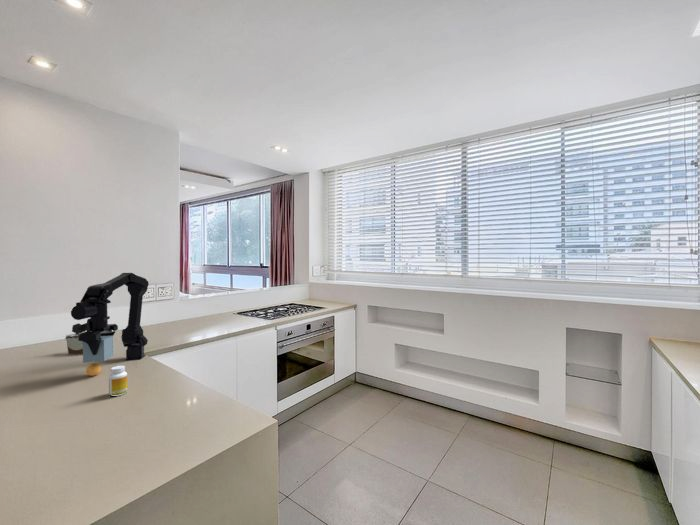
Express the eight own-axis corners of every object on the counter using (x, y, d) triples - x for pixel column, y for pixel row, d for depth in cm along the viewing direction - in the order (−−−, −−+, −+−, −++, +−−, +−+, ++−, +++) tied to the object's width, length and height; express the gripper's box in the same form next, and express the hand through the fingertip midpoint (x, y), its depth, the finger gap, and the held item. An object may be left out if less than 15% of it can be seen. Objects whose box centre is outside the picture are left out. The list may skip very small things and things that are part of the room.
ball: (96, 359, 134) (87, 368, 134) (89, 363, 130) (80, 372, 129) (106, 366, 135) (97, 375, 135) (99, 370, 130) (90, 380, 130)
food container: (98, 351, 168) (97, 332, 168) (87, 354, 162) (86, 335, 162) (77, 350, 169) (76, 332, 169) (65, 354, 163) (65, 335, 163)
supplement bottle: (131, 392, 115) (130, 365, 115) (116, 398, 110) (115, 370, 110) (120, 390, 117) (120, 364, 117) (105, 396, 112) (104, 369, 112)
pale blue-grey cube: (113, 355, 137) (112, 335, 137) (104, 361, 130) (103, 339, 130) (93, 357, 135) (93, 336, 135) (83, 362, 128) (82, 341, 128)
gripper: (89, 312, 140) (90, 347, 140) (61, 320, 121) (62, 360, 122) (118, 311, 142) (118, 345, 142) (95, 319, 124) (95, 358, 124)
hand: (99, 352), depth 133 cm, fingers closed on pale blue-grey cube, 7 cm apart
